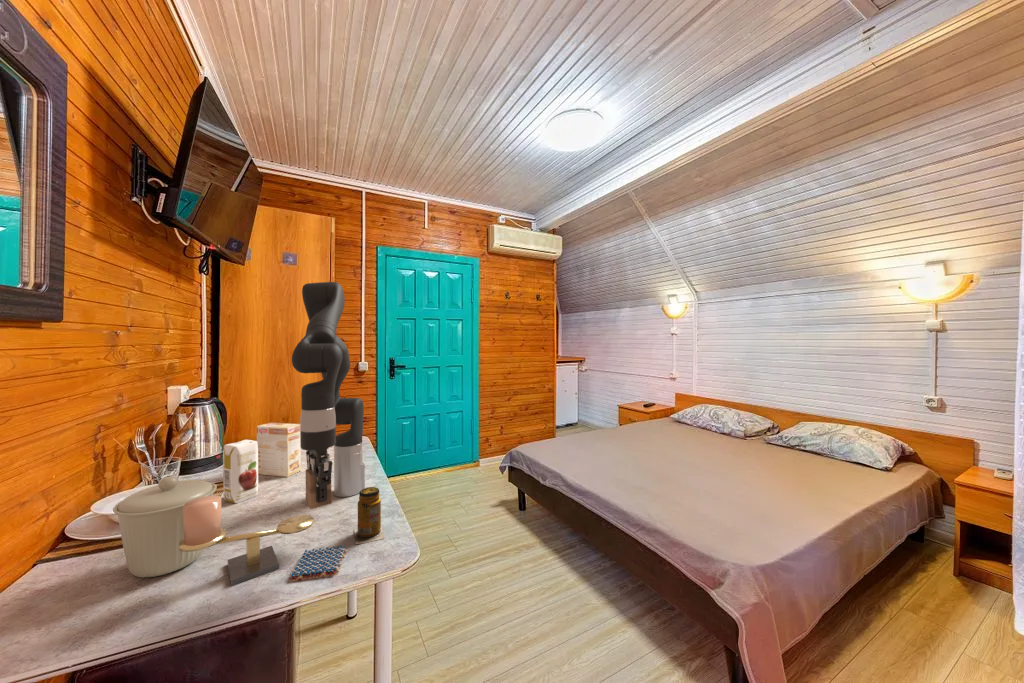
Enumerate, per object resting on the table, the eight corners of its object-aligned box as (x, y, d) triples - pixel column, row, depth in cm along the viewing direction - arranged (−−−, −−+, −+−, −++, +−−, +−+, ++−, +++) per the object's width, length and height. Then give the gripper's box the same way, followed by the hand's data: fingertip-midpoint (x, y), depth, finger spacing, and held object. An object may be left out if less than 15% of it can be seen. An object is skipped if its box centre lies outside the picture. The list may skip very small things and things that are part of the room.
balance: (308, 538, 99) (308, 500, 99) (318, 554, 92) (318, 513, 92) (179, 580, 82) (179, 535, 82) (178, 604, 74) (178, 554, 74)
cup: (220, 527, 85) (220, 493, 85) (222, 538, 80) (222, 502, 80) (183, 537, 81) (183, 501, 81) (183, 549, 76) (183, 511, 76)
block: (326, 497, 90) (325, 465, 90) (331, 503, 87) (331, 470, 87) (305, 502, 87) (305, 469, 87) (310, 509, 84) (310, 474, 84)
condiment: (381, 524, 107) (380, 483, 106) (384, 538, 99) (384, 494, 99) (354, 530, 103) (353, 488, 103) (355, 545, 96) (355, 500, 96)
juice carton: (220, 501, 121) (219, 444, 121) (247, 491, 129) (246, 438, 129) (234, 505, 119) (234, 447, 118) (261, 494, 127) (261, 440, 126)
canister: (157, 594, 78) (156, 495, 77) (90, 584, 81) (89, 489, 81) (235, 546, 95) (234, 466, 95) (178, 539, 99) (177, 462, 98)
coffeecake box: (301, 471, 149) (301, 423, 149) (287, 477, 142) (286, 427, 142) (271, 468, 153) (271, 421, 152) (256, 474, 146) (255, 425, 146)
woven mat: (287, 585, 81) (287, 576, 81) (303, 557, 91) (303, 549, 91) (337, 578, 83) (337, 569, 83) (347, 551, 94) (347, 544, 94)
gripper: (344, 429, 84) (344, 503, 84) (326, 419, 95) (327, 484, 95) (308, 435, 79) (308, 513, 79) (294, 424, 90) (294, 493, 90)
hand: (318, 497), depth 87 cm, fingers closed on block, 4 cm apart
